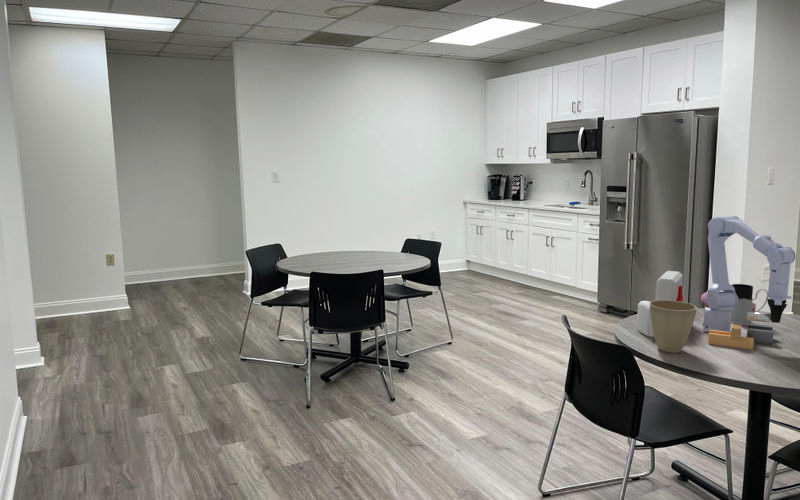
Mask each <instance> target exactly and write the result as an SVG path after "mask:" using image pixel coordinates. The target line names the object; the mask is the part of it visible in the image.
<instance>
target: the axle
mask: <svg viewBox="0 0 800 500" xmlns="http://www.w3.org/2000/svg"><path fill="white" fill-rule="evenodd" d="M747 320H750V321H751V322H762V323H774V322H772V320H771V313H766V312H747ZM781 321H782V318H781V319H780V322H779V323H778V324H781ZM774 324H775V323H774Z"/></svg>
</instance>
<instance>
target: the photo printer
mask: <svg viewBox="0 0 800 500" xmlns="http://www.w3.org/2000/svg"><path fill="white" fill-rule="evenodd" d="M650 302H651V301H650V300H641V301H639V303H637V314H636V315H637V319H636V330H637V331H638V332H639V333H641V334H643V335H645V336H646V337H649V338H655V336H654V332H653V327H652V322H651V314H650Z"/></svg>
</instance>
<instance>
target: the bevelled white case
mask: <svg viewBox="0 0 800 500" xmlns="http://www.w3.org/2000/svg"><path fill="white" fill-rule="evenodd" d="M683 276H684V274H683V273H681V271H676V270H675V271H674V270H667V271H665V273H663V274H662V275H661V276H660V277H659V278H658V279H657V280H656V283H655V295H654V297H655V299H654V301H656V300H670V301H679V302H684V301H683V300H684V295H683V287H684V286H683Z"/></svg>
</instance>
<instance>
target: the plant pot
mask: <svg viewBox="0 0 800 500" xmlns="http://www.w3.org/2000/svg"><path fill="white" fill-rule="evenodd" d="M649 302H650V314H651V322H652V327H653V332H654V336H655V337H654V340H655V343H656V346H657V348H658V350H659V349H660V350H659V351H661V350H662V352H664V351H665V352H664V353H669V352H671V353H672V354H678V353H680V352H682V350H683V349H684V346H685V344H686V343H687V341H688V338H689V336H690V333H691V331H692V327H693V325H694V321H695V317H696V314H697V309H698V307H697V306H696V305H694V304H692V303H689V302H684V301H683V302H679V301H670V300H656V301H655V300H652V301H649ZM677 352H678V353H677ZM671 353H670V354H671Z"/></svg>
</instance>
